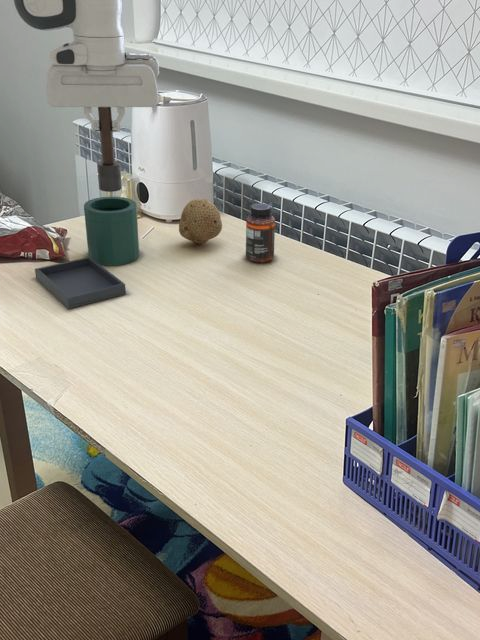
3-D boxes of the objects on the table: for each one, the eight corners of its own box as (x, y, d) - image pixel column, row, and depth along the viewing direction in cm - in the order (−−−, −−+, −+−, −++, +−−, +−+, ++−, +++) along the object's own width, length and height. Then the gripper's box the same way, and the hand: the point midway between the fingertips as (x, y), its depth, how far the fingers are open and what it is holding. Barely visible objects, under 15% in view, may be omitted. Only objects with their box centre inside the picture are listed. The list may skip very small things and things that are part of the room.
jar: (80, 252, 144) (75, 201, 139) (124, 243, 150) (121, 193, 144) (102, 269, 137) (97, 216, 132) (147, 258, 143) (145, 207, 137)
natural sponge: (230, 243, 152) (231, 199, 147) (204, 255, 145) (204, 209, 140) (199, 233, 156) (199, 190, 151) (172, 244, 150) (171, 199, 145)
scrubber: (95, 187, 137) (88, 103, 129) (115, 183, 140) (109, 101, 132) (105, 193, 134) (98, 107, 126) (125, 189, 137) (120, 105, 129)
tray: (36, 278, 132) (34, 268, 131) (90, 266, 138) (89, 256, 137) (68, 309, 122) (67, 298, 121) (126, 294, 128) (125, 283, 127)
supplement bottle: (268, 251, 149) (270, 200, 143) (277, 262, 144) (280, 209, 138) (241, 254, 147) (243, 202, 141) (250, 265, 142) (251, 211, 136)
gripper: (157, 51, 129) (160, 127, 136) (43, 49, 125) (52, 127, 132) (159, 55, 123) (162, 134, 130) (40, 54, 120) (49, 135, 127)
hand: (106, 131), depth 131 cm, fingers closed on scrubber, 2 cm apart
